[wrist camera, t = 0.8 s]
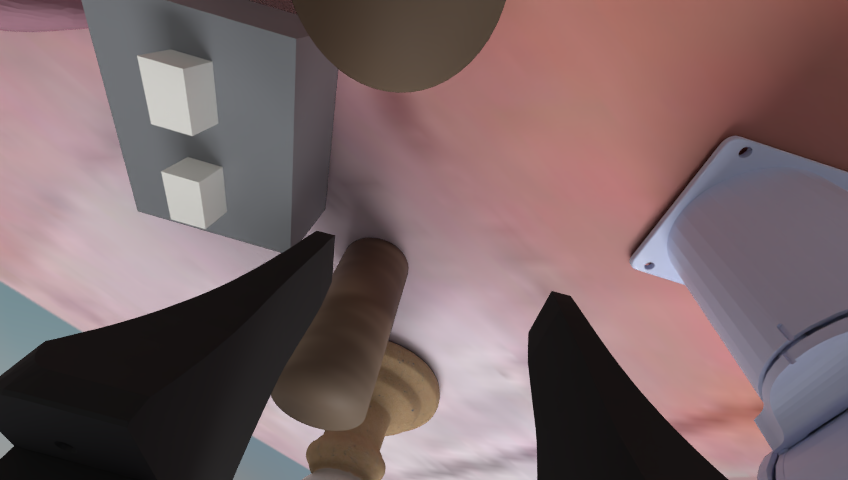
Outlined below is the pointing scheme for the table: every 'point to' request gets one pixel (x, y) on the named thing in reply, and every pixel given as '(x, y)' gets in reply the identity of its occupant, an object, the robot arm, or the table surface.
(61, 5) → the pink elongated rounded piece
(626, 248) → the table surface
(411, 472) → the table surface
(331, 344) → the walnut post
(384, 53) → the walnut post
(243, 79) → the block
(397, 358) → the candle holder
